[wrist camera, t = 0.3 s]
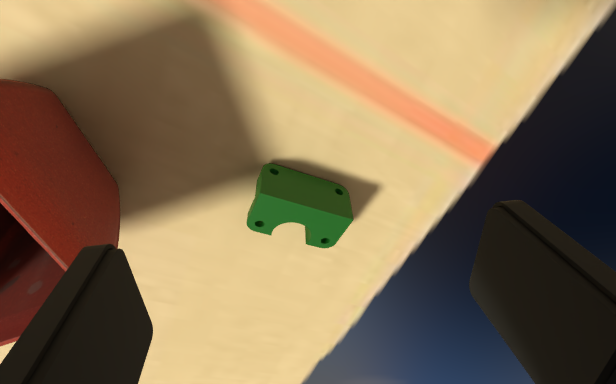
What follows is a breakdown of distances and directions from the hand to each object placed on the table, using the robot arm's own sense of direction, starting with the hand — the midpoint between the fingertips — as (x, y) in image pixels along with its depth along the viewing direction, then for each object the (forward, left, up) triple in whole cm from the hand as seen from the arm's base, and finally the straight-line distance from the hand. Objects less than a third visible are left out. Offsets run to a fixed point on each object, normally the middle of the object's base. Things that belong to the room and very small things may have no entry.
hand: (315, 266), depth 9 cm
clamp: (+16, +1, -31) cm, 35 cm away
